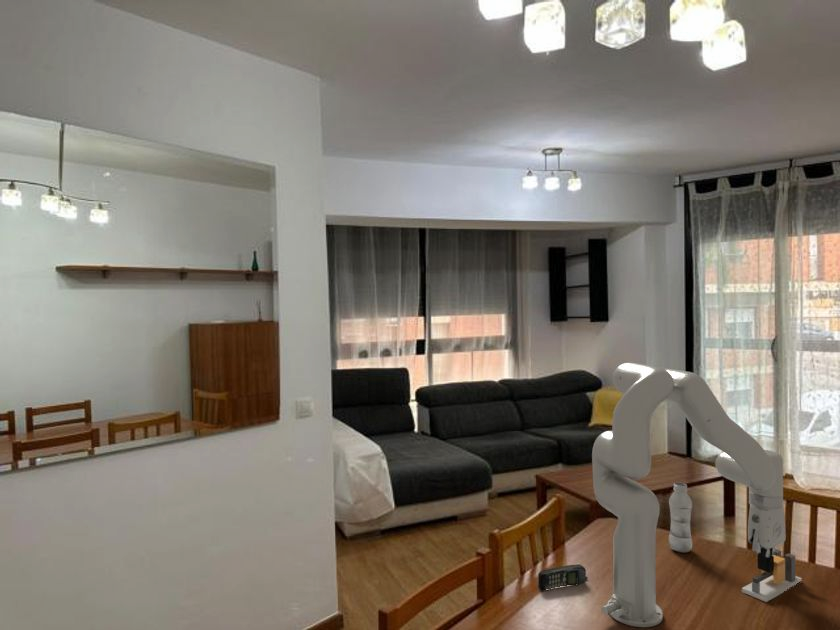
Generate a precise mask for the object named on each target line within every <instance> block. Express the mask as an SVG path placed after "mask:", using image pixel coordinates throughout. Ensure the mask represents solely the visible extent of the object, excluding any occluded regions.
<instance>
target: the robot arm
mask: <svg viewBox="0 0 840 630" xmlns="http://www.w3.org/2000/svg"><path fill="white" fill-rule="evenodd" d="M612 375H613V376H612V383H613V385H614V387H615V389H616V390H617V391H618V392H619V393H620V394H622V396H621V397H620V398H619V400H618V401H617V403H616V405H615V407H614V408H613V409H614V410H613V414H612V426H611V427H612V430H606V431H604V432H602V433H600V434H599V435H598V436H597V437H596V439H595V440H594V443H593V447H592V450H591V451H592V453H591V459H592V460H591V463H592V481H593V482H592V483H593V493H594V497H595V499H596V501H597V502H598V504H599V505H600V506H601V507H602V508H604V509H605V510H607V511H608V512H610V513H612V514H613V515H614V516H616V517H617V524H616V527H615V529H614V532H613V537H612V548H613V549H612V552H613V553H612V558H613V560H612V561H613V562H612V563H613V565H612V567H613V569H612V570H613V571H612V574H613V584H612V585H613V594H611V595H610V596H611V598H610V599H608V601H607V603H606V605H603V606H601V609H600V610H601V613H602V614H603V615H604V616H607V615H610V617H612V618H613V619H615V620H616V621H617V622H619V623H620V624H621V623H622V624H625V625H627V626H630V627H635V628H637V627H638V628H651V627H655V626H658V625H659V624H660V623H661V622H663V620H664V619H663V616H664V613H663V610H662V608H661V607H660V606H659V605H658V604H657V603H656V599H657V598H656V593H657V592H656V584H657V583H656V534H657V533H656V532H657V525H658V522H659V517H660V516H659V515H660V502H659V499H658V498H657V496H656V495H655V493H654V492H653V491H652V490H651V489H649V488H648V487H647V486H645V485H644V484H642V483H639V482H637V481H635V480H641V479H644V478H646V477H647V476H648V474H649V473H650V471H651V468H652V447H651V446H652V444H651V443H652V442H651V422H652V421H651V420H652V416H653V415H654V412H655V411H656V410H657V408H658V407H659V406H660V405H661V404H662V403H663V402H669V403H672V404H675V405H677V406H678V408H679V409H680V411H681V412H682V414H683V415H684V416H685V418H686V419H687V421H688V423H689V424H690V426H691V427H692V429H693V430H694V432H695V433H696V434H697V435H698V436H699V437H700V438H701V439H702V440H704V441H706V442H707V443H708V444H710V445H711V446H713V447H715V448H717V449H718V450H720V451H722V452H721V453H720V454H719V455H718V456H717V457H716V459H715V468H716V470H717V472H718V473H719V475H721V476H722V477H723V478H725V479H727V480H729V481H732V482H734V483H736V484H740V485H742V486H745V487H747V488H748V504H749V509H748V511H749V513H748V521H747V539H748V542H749V544H750V545H751V544H752V547H751V548H752V549H751V550H752V551H753V552H755V553H756V554H757V569H759V570H760V571H761V570H763V571H766V572H769V573H770V572H772V571H774V556H772V555H774V554H775V549H776V547H777V546H779V545H781V544H783V543H785V541H786V538H787V536H786V535H787V533H786V518H785V517H786V515H785V511H784V459H783V456H782V455H781V454H780V453H779V452H776V451H773V450H768V449H764V447H762V445H761V444H760V443H759V442H758V441H757V440H756V439H755V438H754V437H752V436H751V434H749V433H748V432H747V431H746V430H744V428H742V427H741V426H740V425H739V424H738V423H736V422H735V421H734V420H733V419H732V418H730V416H729V415H728V414H727V412H726V411H725V410H724V409H725V408H723V406H722V405H721V403H720V401H719V400H718V398H717V397H716V396H715V394H714V392H713V391H712V389H711V388H710V386H709V385H708V384H707V381H706V380H704V378H703V377H702V376H700V375H699V374H697V373H695V372H691V371H686V370H680V369H675V368H667V367H666V368H665V367H660V366H659V367H658V366H654V365H649V364H642V363H636V362H629V361H628V362H623V363H622V364H619V366H618V367H616V368H615V370H614V371H613V374H612Z"/></svg>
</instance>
